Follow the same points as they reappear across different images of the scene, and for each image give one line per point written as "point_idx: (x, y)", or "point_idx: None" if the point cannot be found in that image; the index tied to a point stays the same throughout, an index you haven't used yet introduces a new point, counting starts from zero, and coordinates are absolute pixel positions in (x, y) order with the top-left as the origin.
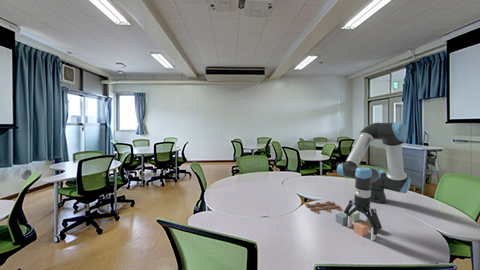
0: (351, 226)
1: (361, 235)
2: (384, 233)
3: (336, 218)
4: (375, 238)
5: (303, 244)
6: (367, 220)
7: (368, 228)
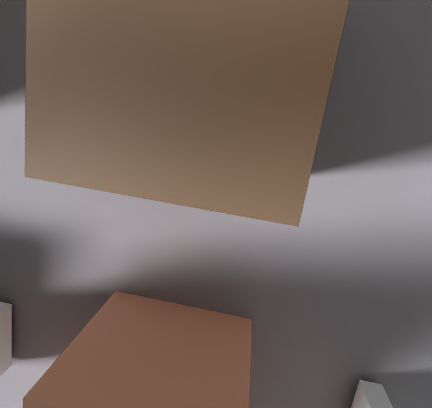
0: (10, 312)
1: None
2: (425, 55)
3: None
4: (386, 397)
5: None
6: (78, 177)
7: (249, 396)
